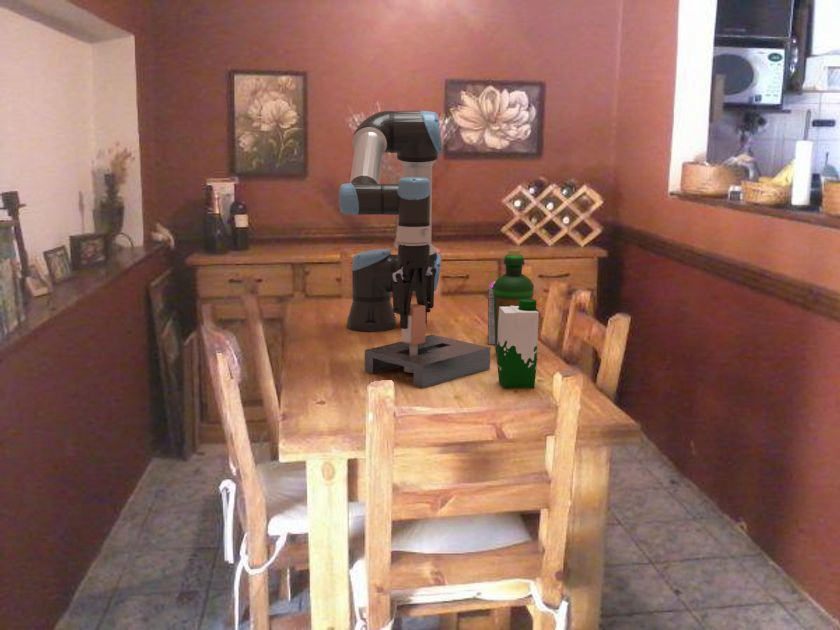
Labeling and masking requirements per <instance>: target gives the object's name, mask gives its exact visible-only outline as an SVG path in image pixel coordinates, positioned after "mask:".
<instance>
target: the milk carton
mask: <svg viewBox="0 0 840 630" xmlns="http://www.w3.org/2000/svg"><path fill="white" fill-rule="evenodd" d="M539 317H540V313H539V311H538V308H537V300H536V299H534V298H533V299H520V300H519V306H510V307H499V318H498V341H497V355H496V364H497V373H498V375H497V376H498V381H499V383H500V384H501V385H502V387H503V389H535V385H536V378H537V377H536V375H537V367H538V340H539V339H538V337H539V336H538V335H539V334H538V333H539V332H538V331H539Z"/></svg>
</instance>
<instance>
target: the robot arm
mask: <svg viewBox="0 0 840 630" xmlns="http://www.w3.org/2000/svg"><path fill="white" fill-rule="evenodd" d="M439 117H440V116H439V115H438V114H437V112H435V111H427V110H383V111H378V112H376V113H373V114H372V115H369V116H368V117H367V118H365V119H364V120H363V121H362V122H361V123H360V124H359V125H358V126H357V127H356V129H355V131H354V133H353V136H352V140H351V141H352V144H351V145H352V149H353V151H354V153H353V159H352V167H351V174H350V178H349V179H350V180H349V182H348V183H343V184H340V186H339V192H338V200H339V201H338V204H339V211H340V212H341V214H343V215H354V216H358V215H359V216H360V215H362V216H363V215H365V216H366V215H369V216H371V215H373V216H374V215H377V216H378V215H389V216H390V215H393V216H394V215H395V216H396V215H397V217H398V218H397V219H398V223H397V226H398V227H397V241H398V243H400V244H398V246H397V254H394V253H393V254H392V251H391V249H388V248H387V249H386V248H384V249H383V248H379V249H371V250H366V251H365V250H364V251H360V252H358V253H356V254H355V255H354V256H353V257H352V263H351V271H352V274H351V275H352V286H351V287H352V291H351V292H352V302H351V306H350V310H349V314H348V316H347V319H346V326H347V327H346V328H348V329H350V330H353V331H360V332H381V331H388V330H393V329H395V328H396V327H397V316H396V315H395V314H397V315H399V318H400V319H399V326H400V327H399V328H400V329H401V342H402V341H405V342H409V343H410V342H412V316H411V315H409V312H410V305H411V304H412V297H413V294H415V299H416V304H419V305H424V306H426V311H425V339H426V336H427V335H426V333H427V332H426V327H427V326H426V325H427V323H428V313H431V310H432V309H434V304H435V301H434V300H435V291H437V288H438V284H439V280H440V274H441V265H442V256H441V254H439V253H437V248H436V247H435V246H434V245H433V244H432V231H433V229H432V224H433V222H432V221H433V220H432V215H433V213H432V212H433V203H432V202H433V201H432V200H433V165H434V164H435V163H436V162H437V160H438V158H439V157H438V156H439V155H440V154H442V153H443V143H442V134H441V126H440V118H439ZM386 153H387V154H396V158H397V159H396V160H397V161H398V162H399V163H400V164H401V166H402V171H401V172H402V175H401V178H399V179H398V181H397V182H398V183H381V174H382V173H381V172H382V161H383V155H384V154H386ZM438 154H439V155H438ZM391 294H392V296H391ZM391 297H392V299H391ZM404 309H405V310H404Z"/></svg>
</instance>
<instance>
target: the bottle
mask: <svg viewBox="0 0 840 630" xmlns="http://www.w3.org/2000/svg"><path fill="white" fill-rule="evenodd" d="M507 252H508V254H505V255H504V259H503V265H505V273H504V274H503V275H501V276H500V277H498V278H497V279H496V280H495V281H496V282H495V283H494V285H493V297H494V325H495V345H494V347H495V348H494V350H495V351H494V353H495V354H497V341H498V318H499V307H510V306H519V300H520V299H534V288H535V285H534V283H533V282H532V280H531V279H530V278H529V277H528V276H526V275H525V274H523V273H522V272H523V266H524V265H525V257H524V255H523V254H521V252H522V251H521V250H520V249H508V250H507Z"/></svg>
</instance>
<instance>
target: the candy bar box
mask: <svg viewBox="0 0 840 630" xmlns="http://www.w3.org/2000/svg"><path fill="white" fill-rule="evenodd" d="M495 282H496V280H492V282H491V283H490V284H489V287H488V288H487V289H488V290H487V291H488V294H487V295H488V296H487V344H488V345H490V346H491V345H492V346H495V325H494V297H493V285H494V283H495Z"/></svg>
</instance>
